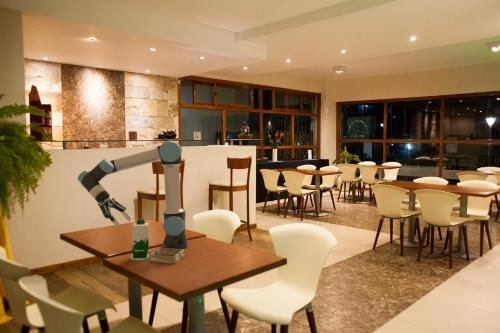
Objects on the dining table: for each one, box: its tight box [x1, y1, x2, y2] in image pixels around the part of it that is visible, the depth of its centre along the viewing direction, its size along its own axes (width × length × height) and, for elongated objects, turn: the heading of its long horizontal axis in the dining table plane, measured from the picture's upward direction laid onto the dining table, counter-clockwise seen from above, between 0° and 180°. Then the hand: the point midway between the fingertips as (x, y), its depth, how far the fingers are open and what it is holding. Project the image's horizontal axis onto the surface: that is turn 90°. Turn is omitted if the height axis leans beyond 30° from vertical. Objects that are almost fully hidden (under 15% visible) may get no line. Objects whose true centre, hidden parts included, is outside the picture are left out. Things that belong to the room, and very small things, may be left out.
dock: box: [148, 247, 186, 264], centre depth 212 cm, size 15×15×4 cm
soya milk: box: [131, 218, 150, 258], centre depth 212 cm, size 9×9×20 cm
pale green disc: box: [129, 253, 150, 262], centre depth 212 cm, size 11×11×1 cm
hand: (125, 222), depth 213 cm, fingers open, 13 cm apart
